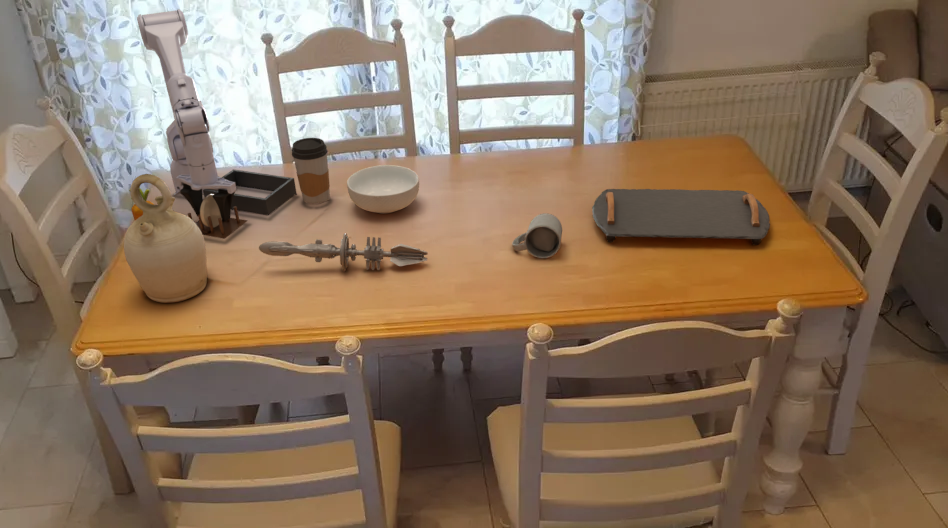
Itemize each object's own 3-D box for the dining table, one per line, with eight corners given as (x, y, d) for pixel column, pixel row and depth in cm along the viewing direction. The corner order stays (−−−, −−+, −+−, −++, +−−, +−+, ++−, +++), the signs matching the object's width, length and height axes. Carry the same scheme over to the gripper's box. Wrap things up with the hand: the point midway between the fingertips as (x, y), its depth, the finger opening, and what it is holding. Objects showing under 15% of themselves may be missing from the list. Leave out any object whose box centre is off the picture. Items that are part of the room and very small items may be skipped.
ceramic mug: (562, 241, 185) (563, 209, 181) (560, 259, 179) (560, 227, 174) (514, 239, 187) (513, 208, 182) (510, 258, 180) (509, 225, 176)
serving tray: (592, 246, 183) (594, 220, 179) (590, 198, 202) (592, 174, 198) (776, 249, 179) (782, 223, 176) (757, 201, 198) (761, 176, 194)
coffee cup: (337, 195, 208) (330, 136, 200) (330, 210, 202) (321, 150, 193) (304, 194, 209) (295, 136, 201) (295, 209, 202) (285, 150, 194)
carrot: (171, 246, 189) (154, 184, 181) (155, 256, 186) (138, 194, 177) (154, 242, 191) (136, 181, 183) (138, 252, 188) (120, 190, 179)
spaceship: (262, 226, 178) (254, 230, 171) (428, 235, 181) (428, 239, 173) (262, 264, 180) (254, 269, 172) (426, 272, 182) (426, 277, 175)
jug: (170, 263, 183) (140, 155, 169) (229, 275, 178) (203, 164, 164) (121, 299, 172) (84, 186, 157) (183, 313, 166) (151, 197, 152)
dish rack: (184, 235, 193) (179, 215, 190) (208, 218, 200) (203, 198, 197) (225, 243, 190) (220, 222, 187) (248, 225, 197) (244, 204, 194)
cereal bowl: (337, 216, 199) (333, 188, 195) (370, 187, 211) (367, 161, 207) (402, 227, 193) (399, 199, 189) (432, 196, 206) (430, 169, 202)
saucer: (204, 232, 192) (196, 202, 187) (223, 218, 197) (217, 188, 193) (207, 233, 191) (200, 203, 187) (227, 218, 197) (220, 188, 193)
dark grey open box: (207, 209, 204) (202, 190, 201) (237, 188, 214) (233, 169, 211) (269, 219, 199) (265, 199, 196) (297, 197, 208) (294, 178, 205)
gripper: (162, 164, 185) (176, 220, 192) (217, 172, 180) (230, 229, 188) (182, 152, 190) (195, 207, 198) (236, 159, 185) (248, 215, 193)
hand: (213, 217), depth 193 cm, fingers open, 6 cm apart
